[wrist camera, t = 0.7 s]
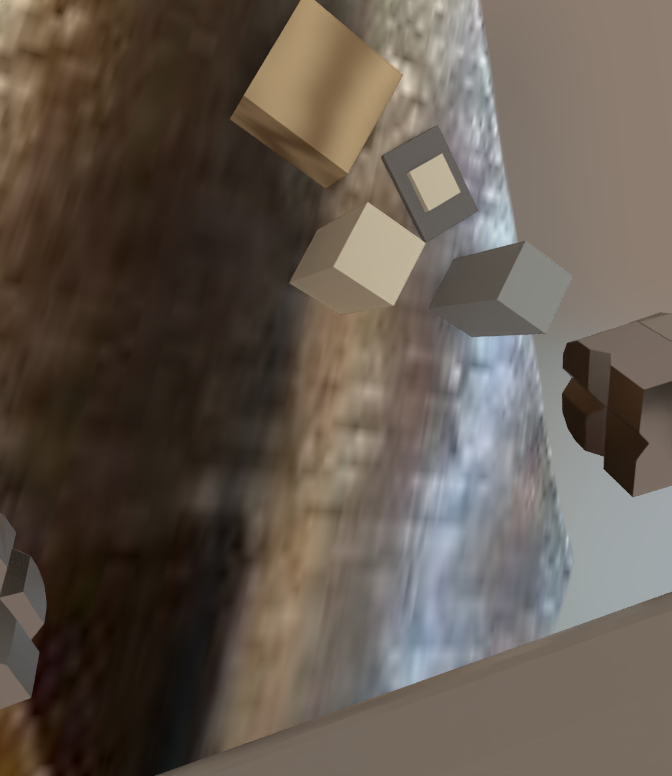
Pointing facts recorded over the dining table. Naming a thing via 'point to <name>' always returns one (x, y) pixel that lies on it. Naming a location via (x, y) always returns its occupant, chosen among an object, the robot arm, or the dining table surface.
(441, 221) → the card
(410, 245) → the cream block
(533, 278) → the grey block
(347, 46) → the oak pedestal
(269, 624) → the dining table surface
